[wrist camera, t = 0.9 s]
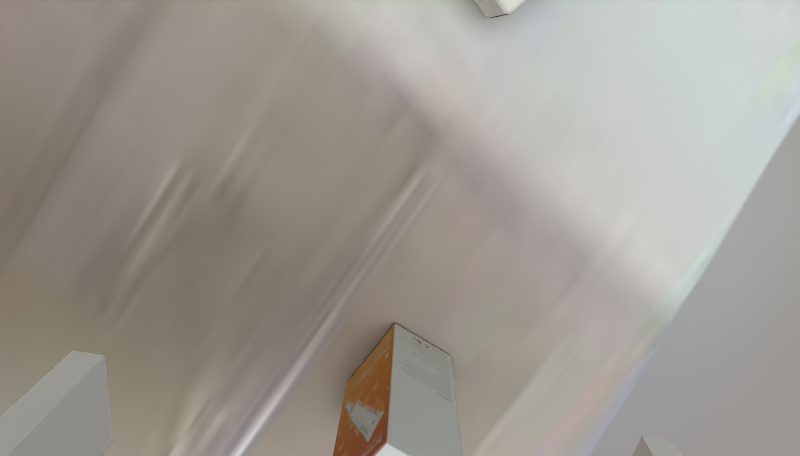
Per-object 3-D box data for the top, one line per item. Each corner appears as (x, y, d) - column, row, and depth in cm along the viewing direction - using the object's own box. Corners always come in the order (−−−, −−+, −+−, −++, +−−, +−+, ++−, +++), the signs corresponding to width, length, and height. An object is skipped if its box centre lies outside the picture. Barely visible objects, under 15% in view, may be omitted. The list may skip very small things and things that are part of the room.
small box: (393, 320, 40) (386, 441, 28) (452, 355, 42) (469, 485, 30) (344, 381, 43) (318, 515, 31) (401, 412, 44) (397, 553, 32)
